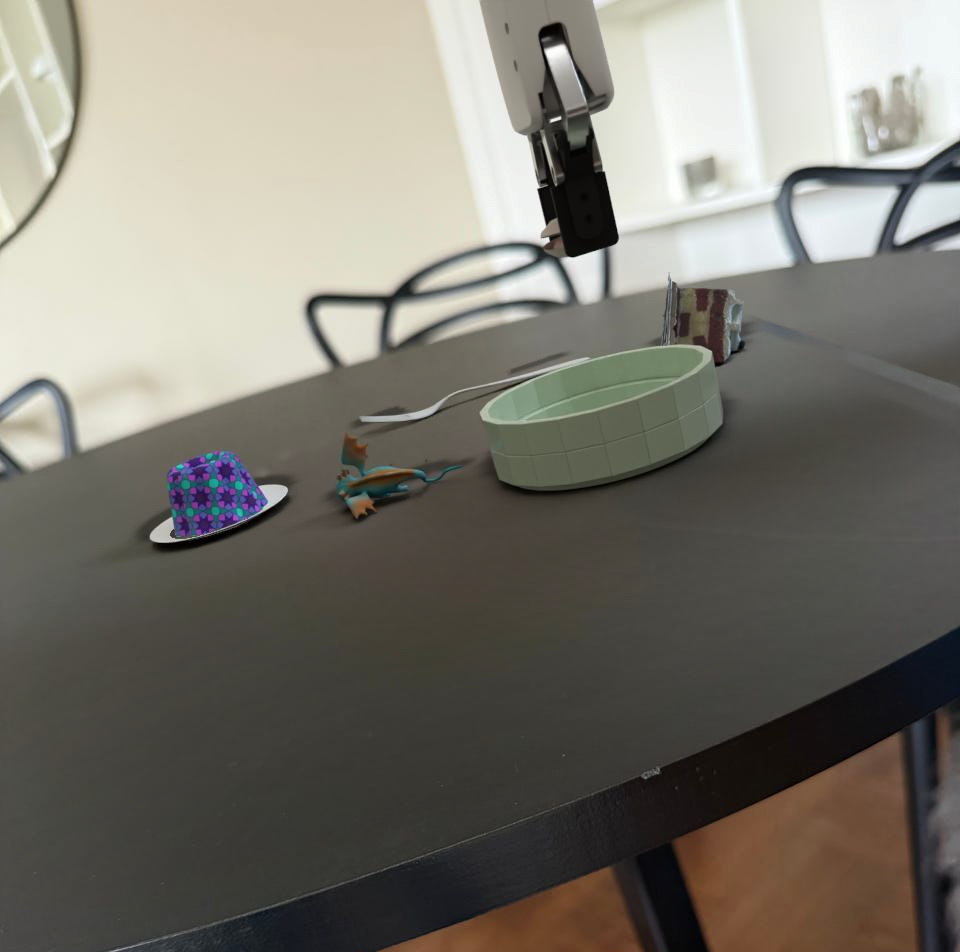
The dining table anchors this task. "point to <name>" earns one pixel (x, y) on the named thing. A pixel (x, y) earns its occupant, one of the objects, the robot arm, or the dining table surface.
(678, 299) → the chocolate cake
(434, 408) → the fork
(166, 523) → the purple patterned hat
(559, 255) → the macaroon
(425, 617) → the dining table surface
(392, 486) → the dragon figurine
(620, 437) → the bowl
